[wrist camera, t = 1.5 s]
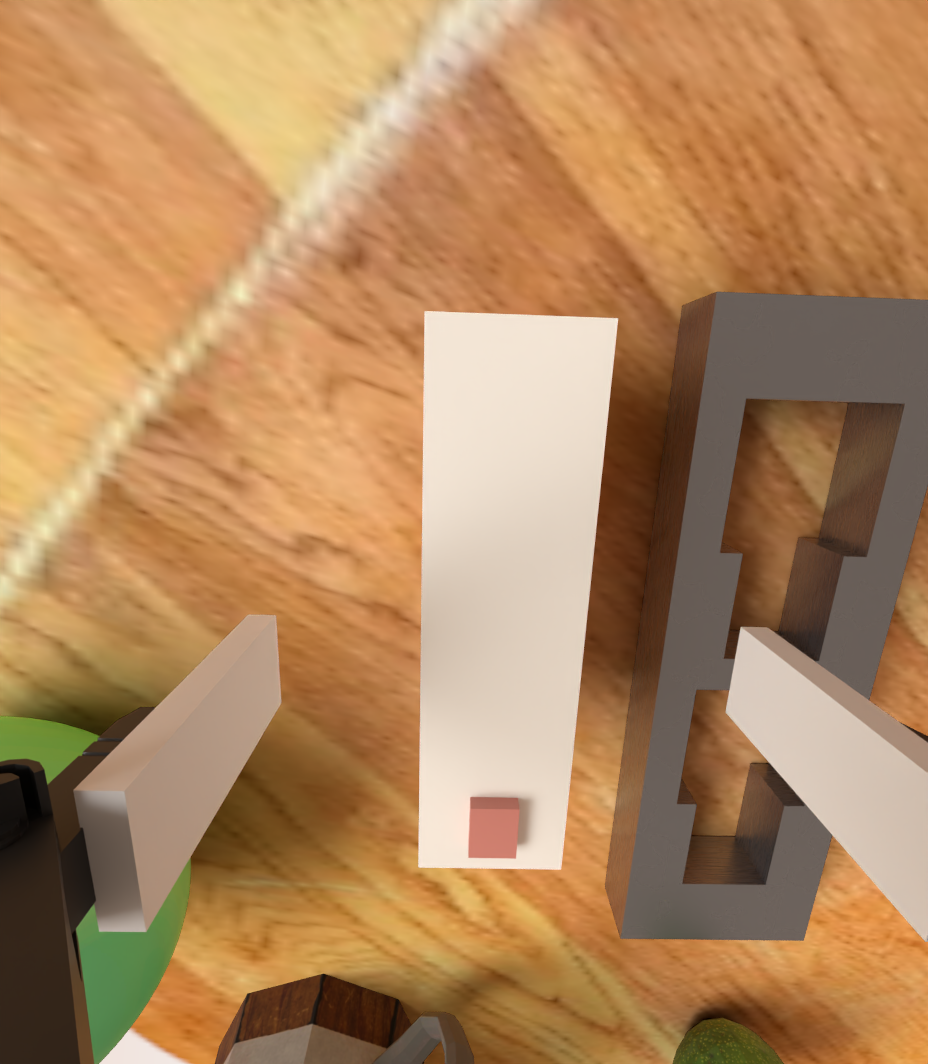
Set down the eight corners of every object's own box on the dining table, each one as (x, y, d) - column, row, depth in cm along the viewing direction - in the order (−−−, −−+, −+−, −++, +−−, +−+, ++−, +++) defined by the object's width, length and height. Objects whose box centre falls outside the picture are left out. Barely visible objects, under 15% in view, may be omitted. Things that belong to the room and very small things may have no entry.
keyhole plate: (682, 305, 22) (716, 292, 19) (909, 314, 22) (977, 301, 19) (604, 886, 30) (620, 938, 27) (770, 888, 30) (803, 940, 27)
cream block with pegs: (438, 346, 22) (423, 307, 13) (551, 350, 22) (624, 315, 13) (431, 706, 27) (417, 880, 17) (525, 708, 27) (563, 882, 17)
